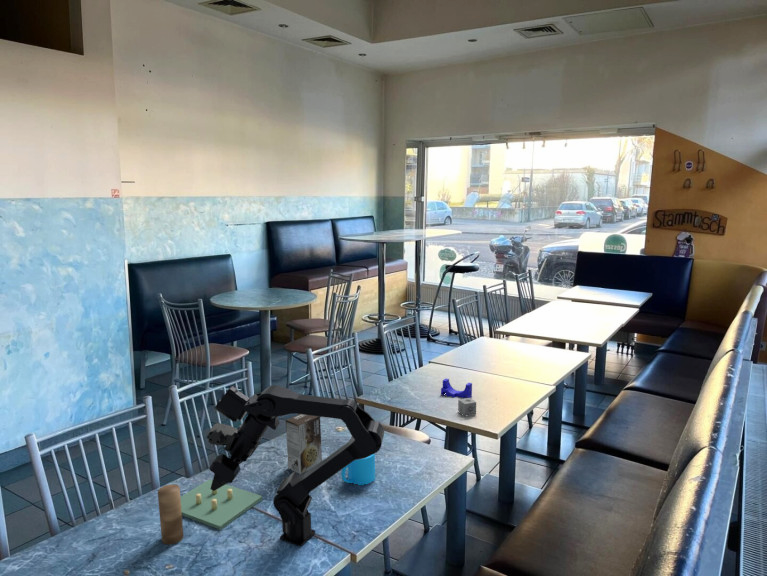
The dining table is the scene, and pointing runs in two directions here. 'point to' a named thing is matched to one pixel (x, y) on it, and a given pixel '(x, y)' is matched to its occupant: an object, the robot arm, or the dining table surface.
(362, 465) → the mug
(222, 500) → the standoff plate
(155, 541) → the dining table surface
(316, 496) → the dining table surface
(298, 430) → the coffee box
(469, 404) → the dice cube
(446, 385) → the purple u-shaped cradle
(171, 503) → the walnut cylinder
